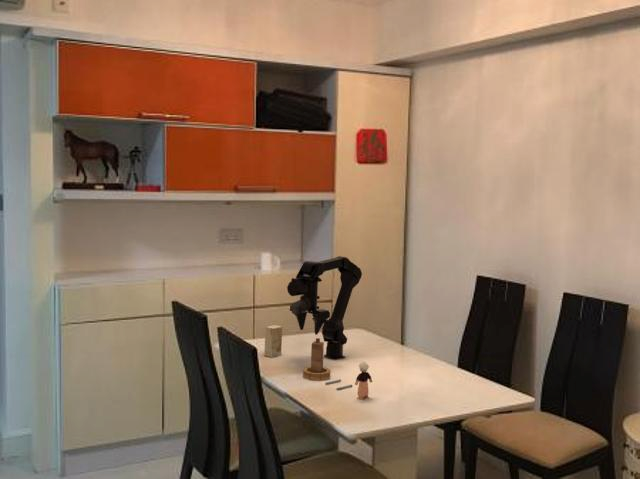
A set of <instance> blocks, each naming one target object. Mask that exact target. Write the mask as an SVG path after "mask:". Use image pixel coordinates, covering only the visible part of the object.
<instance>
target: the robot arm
mask: <svg viewBox="0 0 640 479" xmlns="http://www.w3.org/2000/svg"><path fill="white" fill-rule="evenodd" d="M336 269H337V271H338V272H339V273H340V277H339V278H340V279H339V280H340V285H341V286H340V289H339V292H338V295H337V298H336V301H335V304H334V307H333V311H332V313H331V312H330V310H328V309H325V308H322V309H320V306H319V305H318V300H319V299H320V295H318V294H319V293H318V289H319V283H321V282H322V281H323V279H321V278H320V276H322V275H324V273H325V272H328V271H332V270H336ZM362 275H363V273H362V270H361V268H360V267H358V265H357V264H355V263H354V262H352V261H351V260H350V259H349V258H348V257H346V256H341V255H339V256H336V257H333V258H329V259H324V260H319V261H312V260H310V261H309V260H308V261H303V262H302V265H301V266H300V269H299V270H298V272H297V274H296V276H295V277H293V278H291V281H290V282H289V283H288V285H287V286H286V289H287V293H288V294H289V295H290V297H296V296H297V297H298V296H300V297H299V300H297V301H294V302H293V303H290V305H289V311H290V312H291V313H292V315H295V317H296V319H297V323H298V326H299V330H300V331H303V330H304V327H305V324H306V319H307V315H308V314H312V318H311V319H312V320H313V322H314V334H315V335H318V334H319V333H320V330H321V335H322V338H323V342H324V343H326V347H325V354H323V357H325V358H328V359H331V360H338V359H339V360H340V359H343V358H344V359H345V358H346V356H345V355H344V354H343V352H344V345H345V344H347V341H348V338H347V336H346V335H345V334H344V331H345V326H344V322H343V320H344V319H345V318H344V317H345V314H346V311H347V308H348V304H349V302H350V298H351V296H352V293H353V290H354V288H355V287H357V285H358V284H359V282H360V281H361V278H362Z"/></svg>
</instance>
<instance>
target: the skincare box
mask: <svg viewBox="0 0 640 479" xmlns="http://www.w3.org/2000/svg"><path fill="white" fill-rule="evenodd" d="M264 334H265V336H264V353H263V354H264V356H265V357H270V358H275V357H279V356H282V342H283V339H282V338H283V326H280V325H276V324H273V325H269V326H265V332H264Z"/></svg>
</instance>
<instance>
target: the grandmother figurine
mask: <svg viewBox="0 0 640 479" xmlns="http://www.w3.org/2000/svg"><path fill="white" fill-rule="evenodd" d="M358 367H359V371H360V372H361V373H358V374H357V377H356V378H355V382H354V385H355V386H357V385H358V388H357V398H356V399H358V400H361V401H365V400H366V399H370V397H369V382H370V384H371V383H373V379H372V376H371V375H370V373H369V372H368V369H369V368H370V367H369V364H368V363H367V362H366V361H361V362H360V363H359V365H358ZM368 380H369V381H368Z"/></svg>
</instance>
